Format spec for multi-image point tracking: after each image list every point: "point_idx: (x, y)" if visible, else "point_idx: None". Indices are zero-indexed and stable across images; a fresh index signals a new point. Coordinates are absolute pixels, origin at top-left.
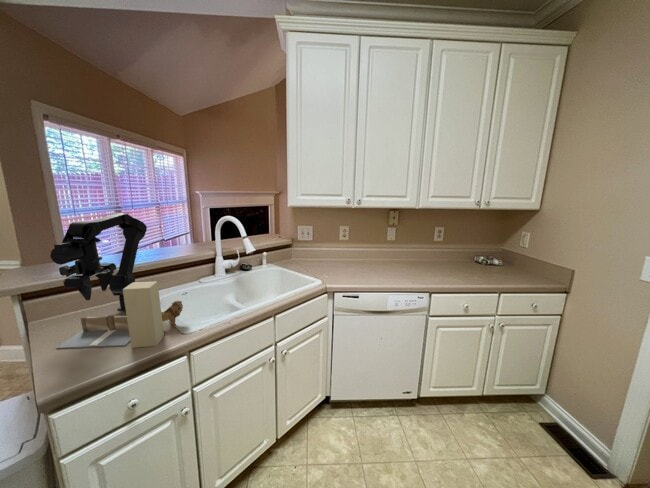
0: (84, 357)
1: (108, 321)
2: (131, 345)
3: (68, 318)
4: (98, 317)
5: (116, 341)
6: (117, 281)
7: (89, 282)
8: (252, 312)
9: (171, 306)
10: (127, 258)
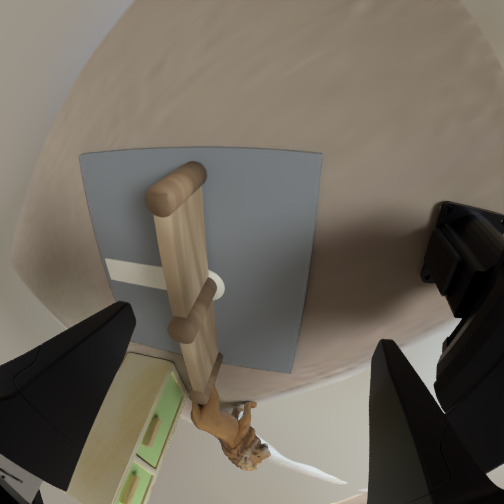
0: (74, 270)
1: None
2: (126, 357)
3: None
4: (170, 282)
5: (138, 320)
6: (501, 402)
7: (38, 486)
8: (283, 466)
9: (228, 456)
10: None
